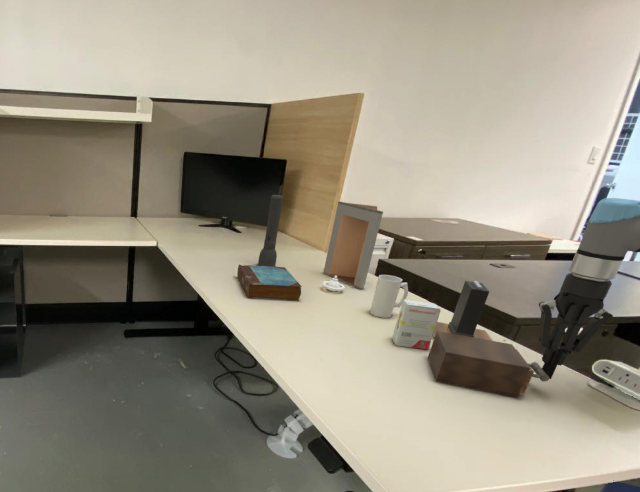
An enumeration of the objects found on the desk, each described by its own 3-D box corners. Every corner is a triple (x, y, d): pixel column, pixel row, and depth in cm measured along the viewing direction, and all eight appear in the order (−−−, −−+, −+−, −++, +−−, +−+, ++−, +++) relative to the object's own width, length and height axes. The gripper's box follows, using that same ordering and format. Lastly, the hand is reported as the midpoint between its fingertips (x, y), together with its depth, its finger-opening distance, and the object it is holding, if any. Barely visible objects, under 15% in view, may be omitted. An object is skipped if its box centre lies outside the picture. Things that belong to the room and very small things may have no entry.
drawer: (528, 374, 113) (538, 353, 111) (546, 399, 102) (557, 376, 100) (438, 357, 118) (446, 336, 116) (447, 378, 108) (455, 356, 105)
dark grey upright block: (466, 329, 139) (483, 281, 133) (472, 340, 131) (492, 289, 125) (447, 326, 140) (464, 278, 134) (453, 337, 133) (471, 286, 126)
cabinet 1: (323, 273, 188) (338, 201, 176) (341, 271, 192) (357, 201, 180) (360, 289, 171) (379, 211, 159) (379, 288, 174) (400, 211, 163)
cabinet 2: (500, 371, 115) (512, 344, 112) (517, 398, 104) (530, 368, 100) (427, 357, 120) (436, 330, 117) (435, 381, 108) (446, 352, 105)
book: (236, 277, 173) (238, 264, 171) (283, 280, 174) (285, 267, 172) (247, 298, 153) (249, 283, 151) (300, 301, 154) (302, 286, 152)
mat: (484, 332, 140) (485, 330, 140) (496, 350, 128) (497, 348, 128) (426, 321, 144) (427, 320, 144) (433, 338, 132) (433, 336, 132)
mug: (373, 317, 145) (383, 280, 139) (365, 309, 151) (375, 274, 146) (405, 319, 145) (416, 282, 140) (396, 312, 151) (407, 276, 146)
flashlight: (254, 264, 192) (265, 269, 186) (264, 194, 180) (276, 197, 175) (267, 263, 195) (278, 268, 190) (278, 194, 183) (290, 197, 178)
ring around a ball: (329, 285, 172) (316, 288, 168) (333, 270, 170) (319, 273, 165) (348, 292, 167) (334, 295, 162) (352, 277, 164) (338, 280, 159)
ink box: (423, 343, 129) (436, 302, 124) (428, 350, 124) (442, 309, 119) (391, 338, 130) (402, 298, 125) (394, 345, 126) (407, 304, 121)
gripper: (618, 276, 98) (571, 374, 108) (547, 267, 101) (508, 363, 111) (637, 286, 91) (585, 389, 101) (560, 276, 95) (518, 377, 105)
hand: (545, 375), depth 106 cm, fingers closed
